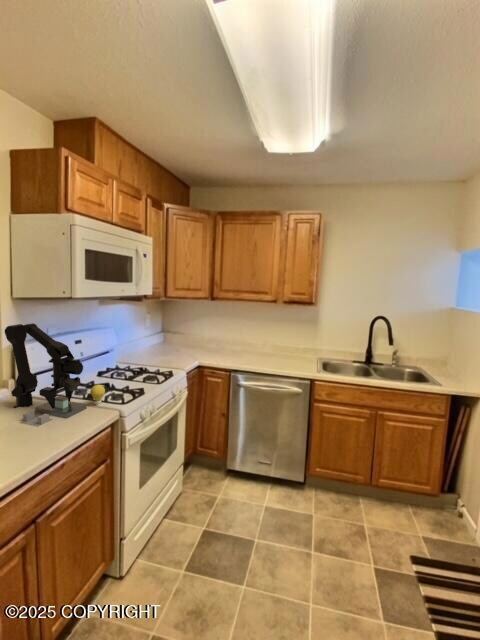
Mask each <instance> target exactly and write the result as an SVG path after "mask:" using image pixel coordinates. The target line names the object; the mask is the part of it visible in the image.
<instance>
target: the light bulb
mask: <svg viewBox="0 0 480 640" xmlns="http://www.w3.org/2000/svg"><path fill="white" fill-rule="evenodd" d="M105 393H106V389H105V386H103V385H102V384H95V385H94V386H92V387H91V389H90V396H91V397H92V398H93V399H94V405H95V404H96V405H95V406H100V405H99V404H101V403H102V398H103V397H104V395H105ZM101 405H102V404H101Z"/></svg>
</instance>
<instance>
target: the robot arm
mask: <svg viewBox="0 0 480 640" xmlns="http://www.w3.org/2000/svg"><path fill="white" fill-rule="evenodd" d="M4 335H5V337H6V339H7V341H8V342H9V343H10V344H11V346H12V350H13V356H14V361H15V365H16V368H17V369H16V370H17V377H16V379H15V387H14V388H13V389H12V390H11V391H10V393H11V395H12V397H15V398H16V399H15V400H16V401H15V402H16V405H14V406H13V408H14V409H18V408H28V407H31V406H33V405H34V404H33V401H34V400H33V394H32V393H34V392H36V388H37V387H38V383H39V381H38V376H37V374H34V373H32V372H31V368H30V364H29V359H28V358H29V357H28V354H27V348H26V344H25V342H26V340H27V337H28V336H27V335H29V337H31V338H33V339H34V340H35V341H36V342H37V343H39V344H40V345H41V346H43V347H44V349H46V353H47V354H48V355H49V357H50V359H49V360H48V363H49V364H50V363H52V374H51V375H50V376H51V377H50V378H53V383H51V387H50V386H45V387H43V388H41V389H39V392H38V393H39V396H41V397H44V398H45V400H46V401H47V403H48V402H49V404H50V406H51V407H52V408H53V409H54V408H55V398H56V397H58V395H57V393H58V391H60V390H63V389H64V394H65V397H68V402H71V399H72V397H73V393H74V391H75V390H77V389H78V387H79V386H81V377H79V375H81V374H82V373H83V371H84V364H83V363H82V362H81V359H77V358H76V359H75V356H74V355H73V353H72V352H71V351H70V349H69V346H68V345H67V344H65V343H63V342H61V341H57V340H55V339H54V338H52V336H50V335H48V334H47V333H46V332H45V331H44V330H42V329H41V328H39V326H38V325H37V324H36V323H26V324H22V323H19V324H12V325H8V326H6V328H5V329H4ZM70 375H74V376H75V375H76V377H71V376H70Z"/></svg>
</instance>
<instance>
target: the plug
mask: <svg viewBox="0 0 480 640" xmlns="http://www.w3.org/2000/svg"><path fill="white" fill-rule="evenodd" d="M55 407H57V408H62V409H64V408H66V407H68V397H66V396H62V395H61V396H60V395H59V396H58V395H57V396H56V397H55Z"/></svg>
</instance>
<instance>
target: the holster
mask: <svg viewBox="0 0 480 640" xmlns="http://www.w3.org/2000/svg"><path fill="white" fill-rule="evenodd" d="M22 419H23V421H20V422H19V424H21V425H22V424H23V425H27V426H32V427H37V428H39V427H40V426H42V425H44V424H46V423H48V422H51V421H52V420H54V419H52V418H50V415H49V414H42V415H41V414H40V415H36V412H35V411H33V410H30V411H27V412H26V413H23V414H22Z"/></svg>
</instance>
